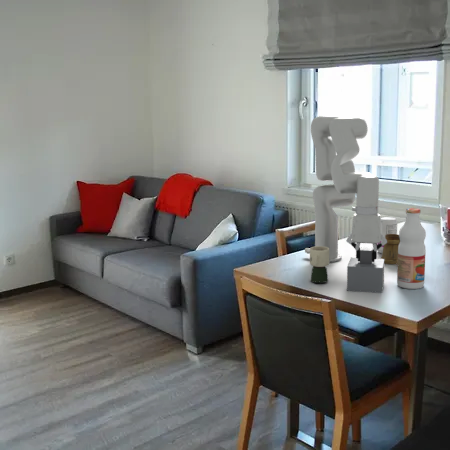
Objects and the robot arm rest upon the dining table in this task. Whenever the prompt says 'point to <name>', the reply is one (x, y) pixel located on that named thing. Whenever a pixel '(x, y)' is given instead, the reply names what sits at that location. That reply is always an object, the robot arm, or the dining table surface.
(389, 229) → the supplement can
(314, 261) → the character mug
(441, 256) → the dining table surface
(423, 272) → the fruit juice
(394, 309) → the dining table surface
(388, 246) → the wooden mug
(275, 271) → the dining table surface
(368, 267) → the cover
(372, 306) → the dining table surface
